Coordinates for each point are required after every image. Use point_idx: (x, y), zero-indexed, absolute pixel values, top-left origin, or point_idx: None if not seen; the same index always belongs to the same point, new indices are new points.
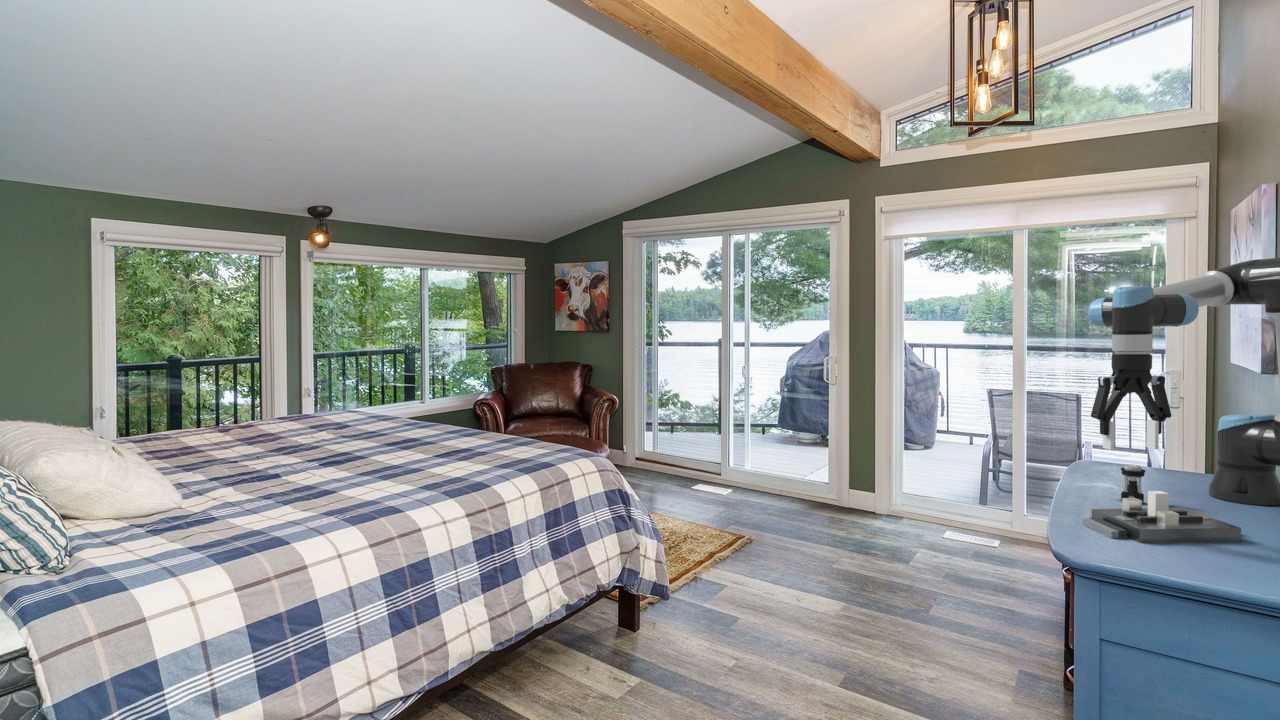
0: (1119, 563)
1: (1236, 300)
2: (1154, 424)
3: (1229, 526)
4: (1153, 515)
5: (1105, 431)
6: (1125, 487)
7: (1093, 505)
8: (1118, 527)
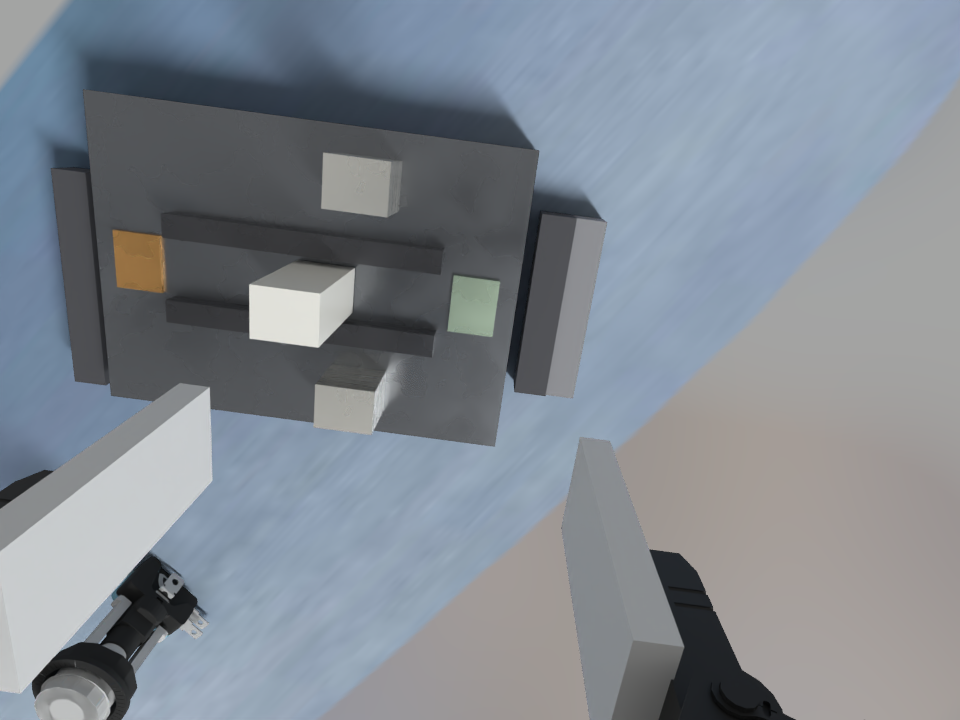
0: None
1: None
2: (39, 538)
3: (117, 117)
4: (351, 280)
5: (682, 582)
6: (156, 638)
7: (335, 580)
8: (542, 255)
